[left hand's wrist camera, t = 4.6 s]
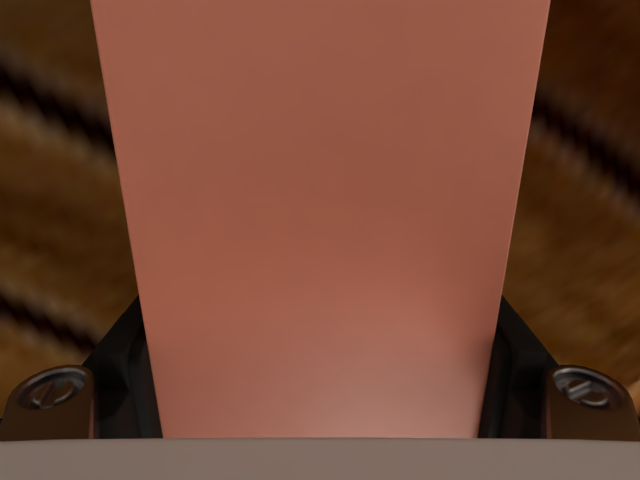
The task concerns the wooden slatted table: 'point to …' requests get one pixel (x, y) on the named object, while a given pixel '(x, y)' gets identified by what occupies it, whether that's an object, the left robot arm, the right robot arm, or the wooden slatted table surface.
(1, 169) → the wooden slatted table surface
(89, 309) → the wooden slatted table surface
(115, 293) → the wooden slatted table surface
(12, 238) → the wooden slatted table surface
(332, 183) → the cabinet
